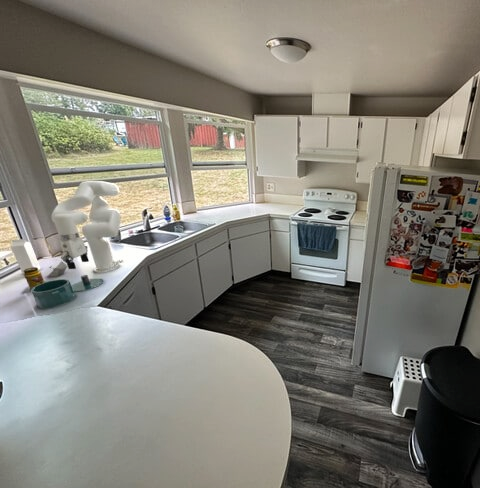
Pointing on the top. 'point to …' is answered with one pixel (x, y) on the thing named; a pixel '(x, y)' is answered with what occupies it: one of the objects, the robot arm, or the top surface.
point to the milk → (24, 254)
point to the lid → (86, 284)
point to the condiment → (33, 277)
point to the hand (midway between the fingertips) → (79, 265)
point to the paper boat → (58, 270)
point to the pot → (53, 293)
